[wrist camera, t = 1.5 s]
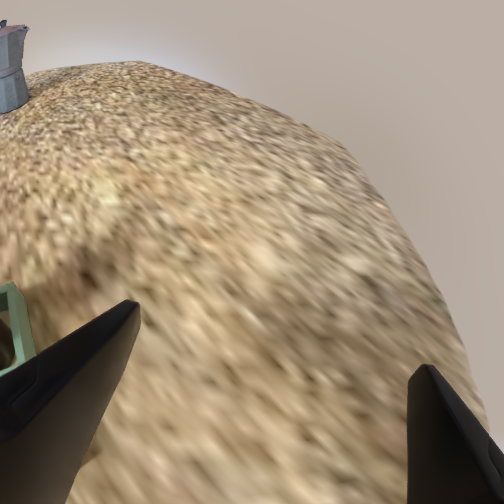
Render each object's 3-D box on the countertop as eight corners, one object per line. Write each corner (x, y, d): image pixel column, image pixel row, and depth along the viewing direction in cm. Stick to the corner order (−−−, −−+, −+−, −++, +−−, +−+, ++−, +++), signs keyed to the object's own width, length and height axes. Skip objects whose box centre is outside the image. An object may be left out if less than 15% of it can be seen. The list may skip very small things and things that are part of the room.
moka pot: (29, 110, 44) (17, 16, 29) (-26, 122, 41) (-43, 40, 26) (46, 90, 50) (39, 7, 35) (-6, 102, 47) (-18, 26, 32)
